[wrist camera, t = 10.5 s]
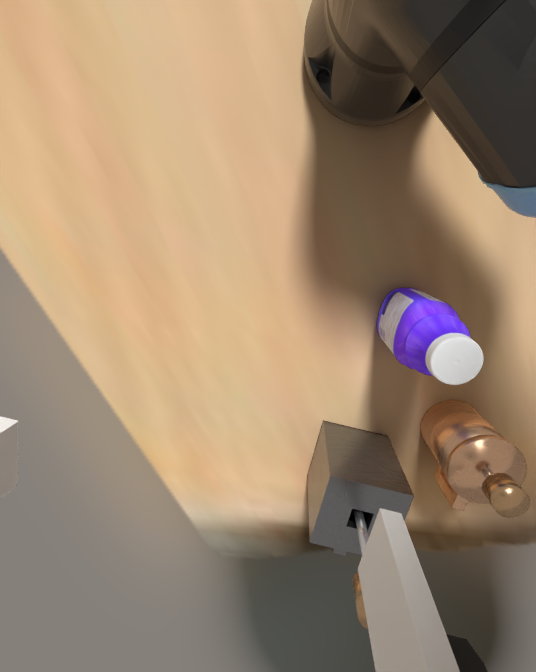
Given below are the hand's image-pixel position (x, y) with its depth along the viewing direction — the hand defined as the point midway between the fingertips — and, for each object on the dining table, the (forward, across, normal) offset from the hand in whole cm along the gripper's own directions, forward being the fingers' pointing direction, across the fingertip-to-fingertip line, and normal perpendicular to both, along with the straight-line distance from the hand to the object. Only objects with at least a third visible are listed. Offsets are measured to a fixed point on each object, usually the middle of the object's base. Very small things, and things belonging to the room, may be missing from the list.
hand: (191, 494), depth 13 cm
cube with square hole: (+35, +15, -20) cm, 43 cm away
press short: (+35, +27, -11) cm, 45 cm away
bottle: (+35, +16, +3) cm, 39 cm away
